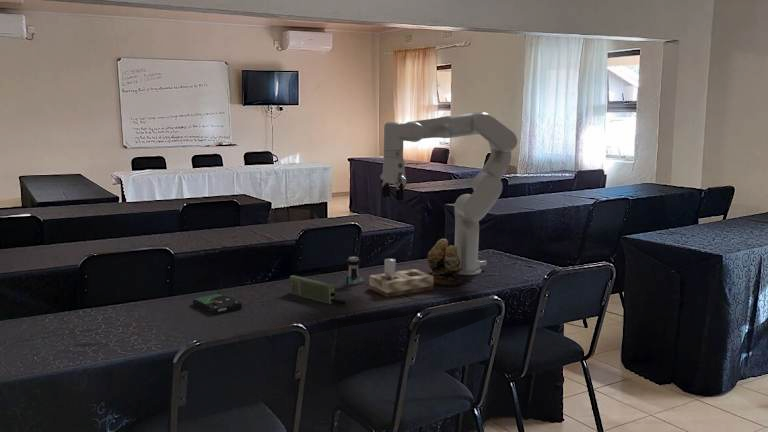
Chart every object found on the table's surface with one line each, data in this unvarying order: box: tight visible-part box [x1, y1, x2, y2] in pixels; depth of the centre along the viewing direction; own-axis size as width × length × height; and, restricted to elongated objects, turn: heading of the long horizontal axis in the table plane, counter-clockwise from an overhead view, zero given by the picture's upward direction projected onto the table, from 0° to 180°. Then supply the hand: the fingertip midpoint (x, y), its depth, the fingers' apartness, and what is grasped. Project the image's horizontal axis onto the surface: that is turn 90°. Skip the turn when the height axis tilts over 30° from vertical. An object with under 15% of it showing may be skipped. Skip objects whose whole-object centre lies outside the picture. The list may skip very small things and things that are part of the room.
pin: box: [383, 258, 397, 280], centre depth 239 cm, size 4×4×10 cm
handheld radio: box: [289, 274, 346, 306], centre depth 228 cm, size 7×3×25 cm
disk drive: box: [192, 292, 243, 316], centre depth 219 cm, size 10×3×15 cm
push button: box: [345, 256, 364, 286], centre depth 249 cm, size 7×5×10 cm
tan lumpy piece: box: [427, 238, 462, 288], centre depth 253 cm, size 18×12×17 cm, turn 37°
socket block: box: [368, 268, 434, 298], centre depth 243 cm, size 20×12×5 cm, turn 122°
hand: (392, 198), depth 260 cm, fingers open, 9 cm apart
